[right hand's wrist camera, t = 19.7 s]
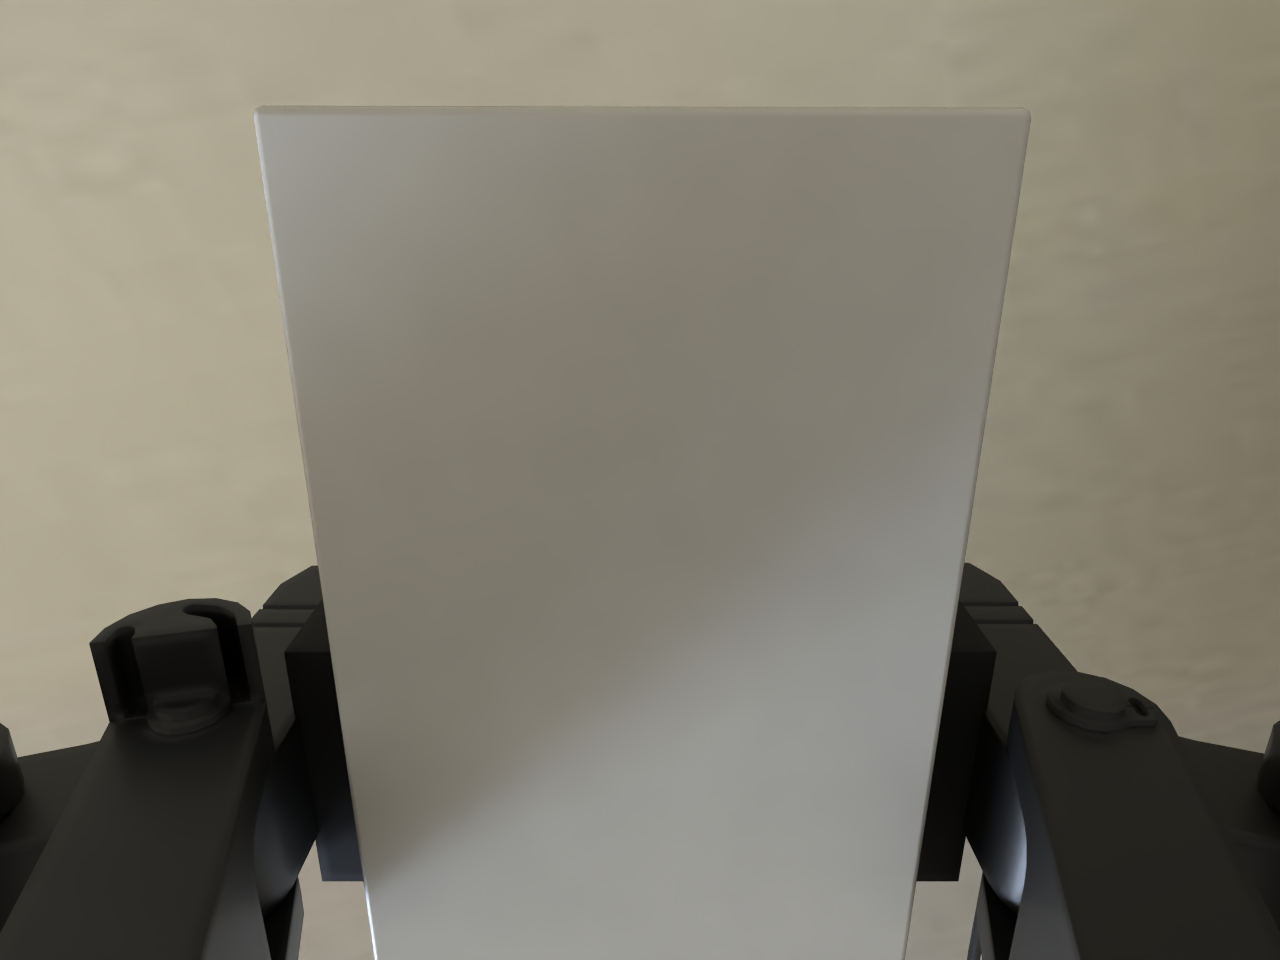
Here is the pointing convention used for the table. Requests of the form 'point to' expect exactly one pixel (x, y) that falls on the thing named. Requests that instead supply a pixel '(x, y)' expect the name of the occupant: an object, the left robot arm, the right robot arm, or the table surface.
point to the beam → (640, 506)
